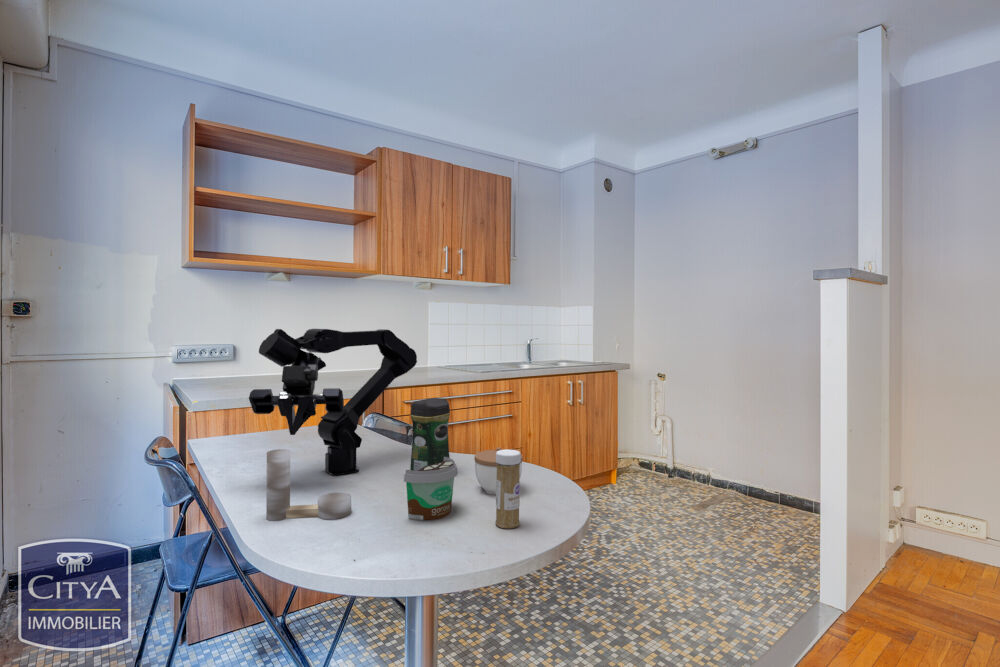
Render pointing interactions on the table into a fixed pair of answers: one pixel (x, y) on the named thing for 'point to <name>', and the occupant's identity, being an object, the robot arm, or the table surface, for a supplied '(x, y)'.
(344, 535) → the table surface
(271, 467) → the crank handle
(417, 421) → the coffee jar
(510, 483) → the sprinkles bottle
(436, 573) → the table surface
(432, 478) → the food container
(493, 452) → the lidded jar
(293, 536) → the table surface
